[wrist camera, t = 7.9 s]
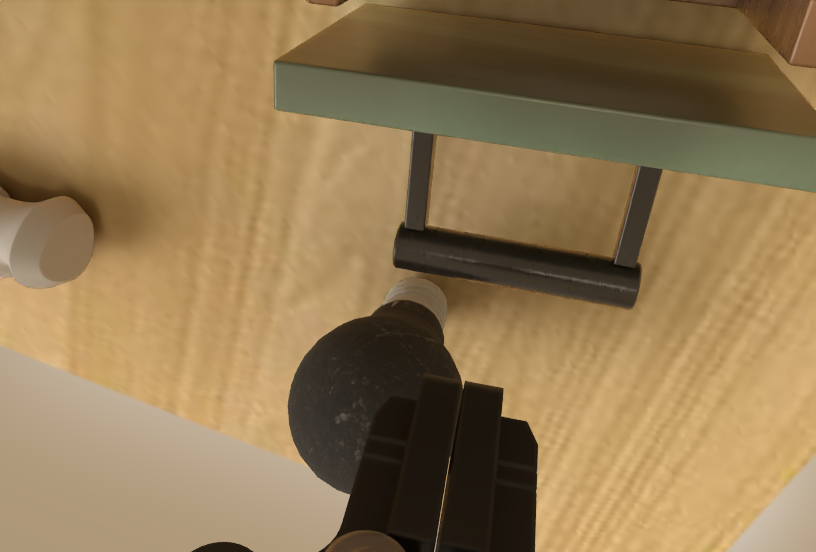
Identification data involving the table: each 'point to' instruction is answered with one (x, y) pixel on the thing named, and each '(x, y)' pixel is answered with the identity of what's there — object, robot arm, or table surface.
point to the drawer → (560, 119)
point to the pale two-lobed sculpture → (44, 240)
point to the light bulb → (366, 377)
